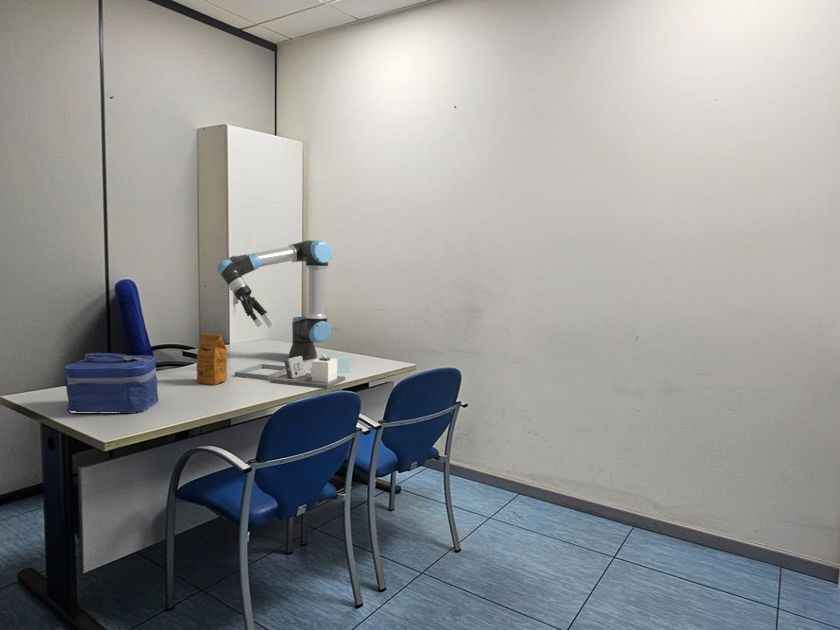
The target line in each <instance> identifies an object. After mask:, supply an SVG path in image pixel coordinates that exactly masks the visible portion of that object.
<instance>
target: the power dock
mask: <svg viewBox="0 0 840 630" xmlns="http://www.w3.org/2000/svg"><path fill="white" fill-rule="evenodd" d="M331 358H332V357H327V358H324V357H323V356H322V357H320V358H316V359H314V360H312V361H311V372H310V373H309V372H306V375H304V376H301V377H297V378H293V379H292V378H291V377H289V378H288V376H287V373H286V374H283V375H280V376H277V377H275V378H272V379H270V383H271V384H283V385H291V386H292V385H293V386H300V387H309V388H310V387H311V388H319V389H330V388H332V387H333V386H335V385H337V384H340V383H341V382H344V381H346V376H341V375H339V376H338V373H337V359H331Z"/></svg>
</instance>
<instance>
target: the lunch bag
mask: <svg viewBox="0 0 840 630" xmlns="http://www.w3.org/2000/svg"><path fill="white" fill-rule="evenodd" d="M156 360H157V359H156V356H154V355H127V354H121V353H110V352H91V353H85V355H84V359H81V360H78V361H76V362H73V363H71V364H68V365H66V366H64V371H65V375H66V376H65V381H64V386H65V388H66V395H67V399H68V404H67V411H68V410H70V411H76V412H118V413H119V412H120V413H132V414H137V413H136V412H139V413H142V412H145V411H147V410H149V409H150V408H151V407H153V406H154V405H156V403H158V402H159V394H158V377H157V366H156V363H157V362H156ZM153 404H154V405H153ZM150 406H151V407H150ZM149 407H150V408H149ZM148 408H149V409H148ZM146 409H147V410H146ZM144 410H145V411H144ZM141 411H142V412H141Z"/></svg>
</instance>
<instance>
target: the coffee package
mask: <svg viewBox="0 0 840 630" xmlns="http://www.w3.org/2000/svg"><path fill="white" fill-rule="evenodd" d="M223 337H224V336H223V334H209V333H205V332H203V333H202V335H201V338H200V342H199V345H198V349H197V357H196V383H197V382H199V383H198V384H204V385H206V384H209V385H208V386H214V385H215V386H216V385H218V384H219V383H224V382H227V381H228V377H227V376H228V372H227V370H228V368H227V367H228V357H227V354H228V349H227V348H226V345H225V342H224V341H223Z"/></svg>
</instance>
